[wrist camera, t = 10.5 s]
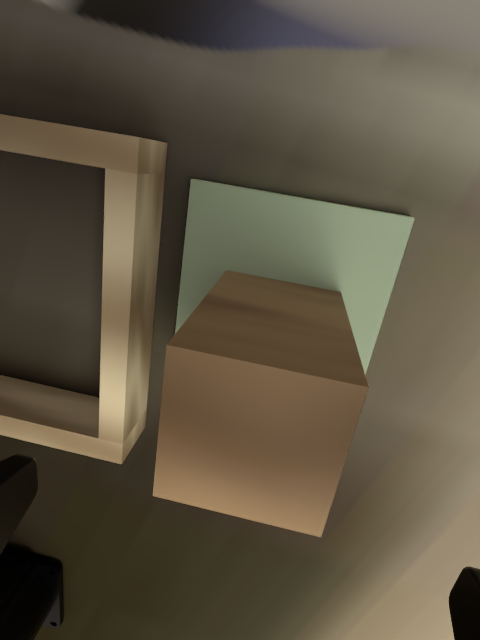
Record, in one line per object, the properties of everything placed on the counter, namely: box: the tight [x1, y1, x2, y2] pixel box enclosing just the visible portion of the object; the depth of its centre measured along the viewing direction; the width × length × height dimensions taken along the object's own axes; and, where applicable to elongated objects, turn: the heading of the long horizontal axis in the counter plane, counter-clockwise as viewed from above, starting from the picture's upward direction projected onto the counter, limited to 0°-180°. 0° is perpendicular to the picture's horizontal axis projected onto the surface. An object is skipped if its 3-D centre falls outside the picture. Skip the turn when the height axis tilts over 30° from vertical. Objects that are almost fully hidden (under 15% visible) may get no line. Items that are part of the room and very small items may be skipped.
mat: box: [175, 179, 415, 374], centre depth 18 cm, size 12×9×1 cm
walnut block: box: [153, 270, 369, 537], centre depth 14 cm, size 5×5×8 cm
